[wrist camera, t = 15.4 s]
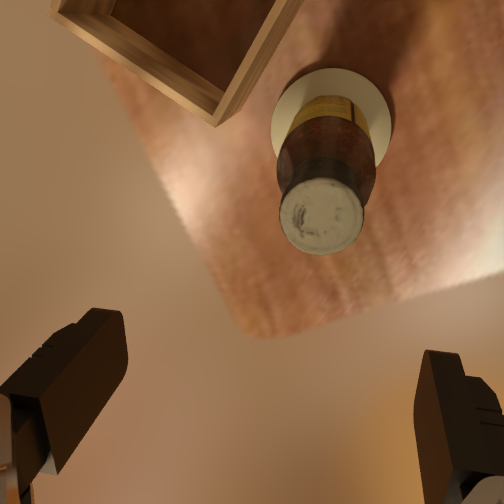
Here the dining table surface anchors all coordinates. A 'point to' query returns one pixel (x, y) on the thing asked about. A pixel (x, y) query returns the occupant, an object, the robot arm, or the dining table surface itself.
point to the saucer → (340, 85)
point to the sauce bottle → (325, 175)
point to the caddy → (168, 68)
